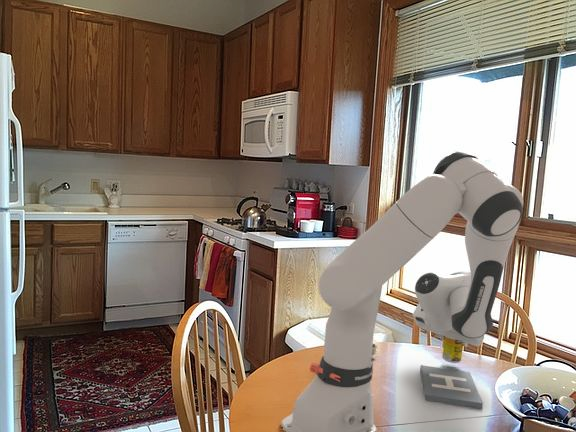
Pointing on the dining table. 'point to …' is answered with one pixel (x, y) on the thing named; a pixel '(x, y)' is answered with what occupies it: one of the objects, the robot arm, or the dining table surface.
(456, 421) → the dining table surface
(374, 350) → the pale yellow block
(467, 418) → the dining table surface
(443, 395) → the gray board
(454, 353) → the supplement bottle
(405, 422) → the dining table surface
